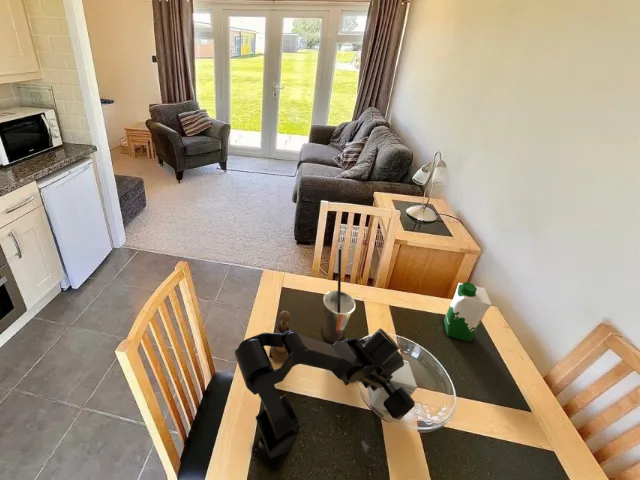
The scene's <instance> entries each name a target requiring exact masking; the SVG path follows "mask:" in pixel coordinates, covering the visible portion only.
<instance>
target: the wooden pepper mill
mask: <svg viewBox="0 0 640 480" xmlns="http://www.w3.org/2000/svg"><path fill="white" fill-rule="evenodd" d="M279 319H280V321H281V322H280V324H279V325H278V326H277V327H276V333H277V334H283V333H285V332H288V331H291V328H290V326H289V323H288V322H289V321H290V319H291V314H290V312H289V311H287V310H282V311H281V312H280V313H279ZM270 354H271V357H272V359H273V360H275V362H277V363H280V364H283V363H284V362H285V361H286V359H287V358H288V355H287V353H286V351H285V349H284V347H273V346H270Z"/></svg>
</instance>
